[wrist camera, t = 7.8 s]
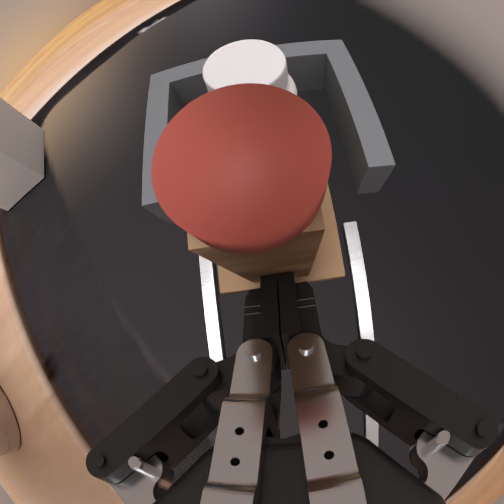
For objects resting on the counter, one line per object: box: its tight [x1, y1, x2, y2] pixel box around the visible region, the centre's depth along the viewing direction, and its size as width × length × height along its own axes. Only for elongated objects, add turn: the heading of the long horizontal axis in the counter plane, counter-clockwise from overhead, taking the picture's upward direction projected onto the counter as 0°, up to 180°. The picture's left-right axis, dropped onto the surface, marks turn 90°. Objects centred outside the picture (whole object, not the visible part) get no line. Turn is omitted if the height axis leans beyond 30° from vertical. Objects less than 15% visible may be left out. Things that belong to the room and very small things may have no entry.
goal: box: [142, 40, 395, 224], centre depth 18 cm, size 14×11×4 cm
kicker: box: [151, 83, 345, 294], centre depth 12 cm, size 7×7×13 cm
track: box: [199, 222, 378, 447], centre depth 16 cm, size 10×18×1 cm, turn 7°
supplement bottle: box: [203, 40, 297, 95], centre depth 15 cm, size 5×5×8 cm
